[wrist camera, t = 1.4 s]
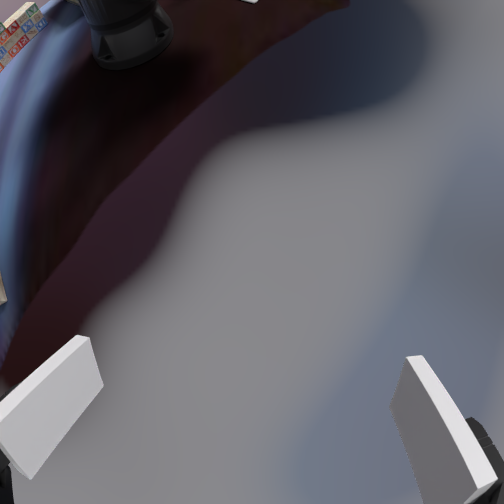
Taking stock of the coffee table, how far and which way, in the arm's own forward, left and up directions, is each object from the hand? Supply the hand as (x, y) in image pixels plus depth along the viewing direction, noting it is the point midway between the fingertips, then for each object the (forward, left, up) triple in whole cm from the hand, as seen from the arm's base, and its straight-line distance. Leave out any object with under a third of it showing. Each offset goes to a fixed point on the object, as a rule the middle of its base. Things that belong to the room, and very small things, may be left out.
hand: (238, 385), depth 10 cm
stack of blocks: (-75, -29, -25) cm, 84 cm away
